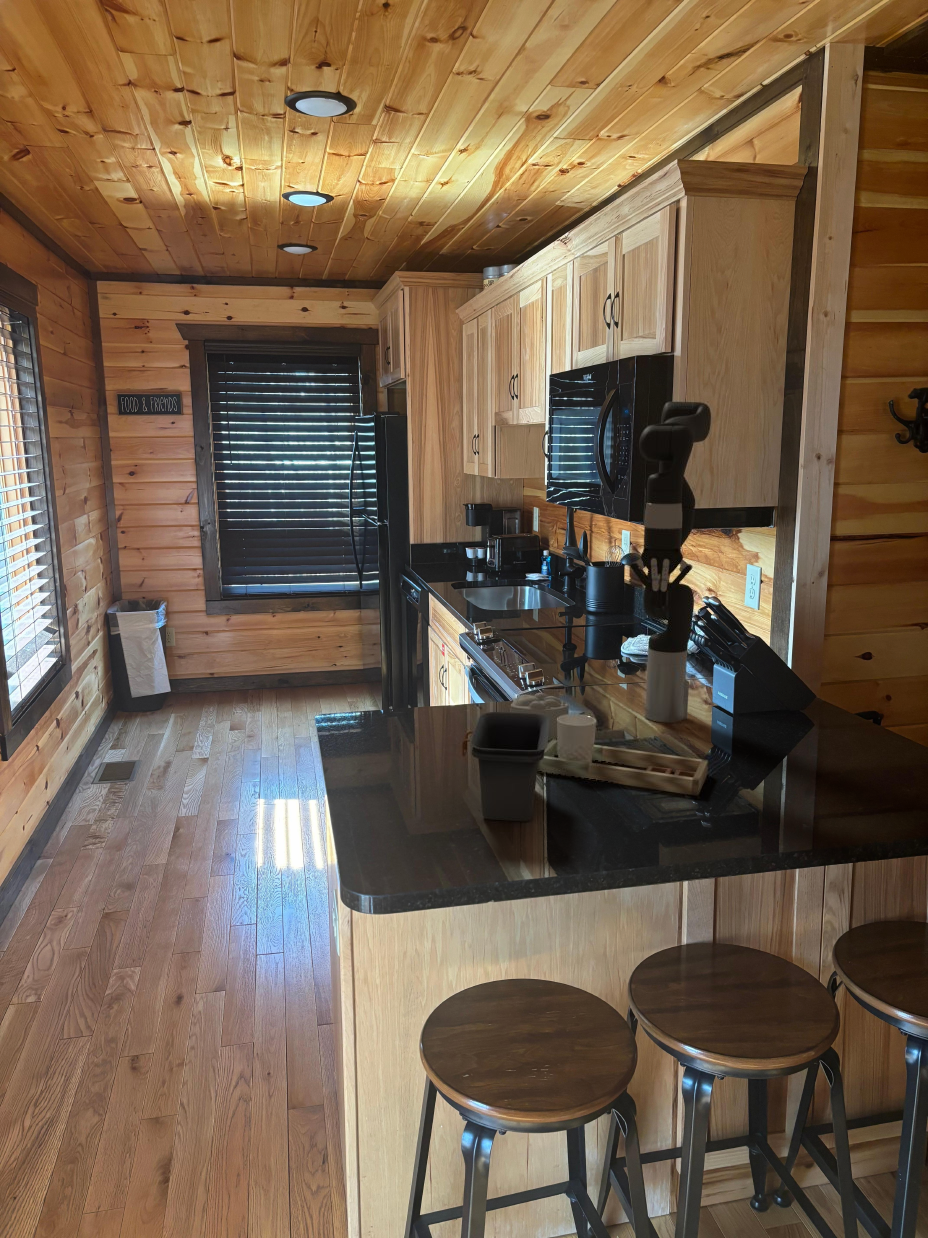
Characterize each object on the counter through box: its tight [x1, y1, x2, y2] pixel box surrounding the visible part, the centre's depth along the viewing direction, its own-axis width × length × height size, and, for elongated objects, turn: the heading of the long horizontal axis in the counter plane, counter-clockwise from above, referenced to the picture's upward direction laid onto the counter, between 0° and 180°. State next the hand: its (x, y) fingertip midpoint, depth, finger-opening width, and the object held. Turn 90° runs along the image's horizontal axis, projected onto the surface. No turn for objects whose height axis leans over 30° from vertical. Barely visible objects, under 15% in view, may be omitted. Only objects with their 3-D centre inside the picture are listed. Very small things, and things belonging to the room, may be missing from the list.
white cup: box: [557, 713, 597, 763], centre depth 182 cm, size 8×8×10 cm
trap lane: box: [537, 739, 709, 797], centre depth 179 cm, size 32×12×3 cm, turn 67°
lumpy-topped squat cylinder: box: [509, 692, 570, 739], centre depth 204 cm, size 10×13×9 cm
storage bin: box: [461, 711, 550, 822], centre depth 162 cm, size 21×16×14 cm
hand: (659, 608), depth 186 cm, fingers closed
